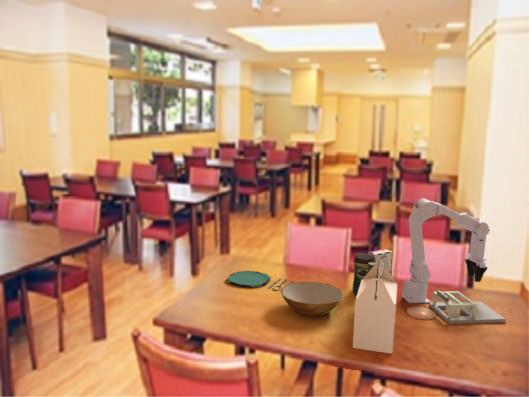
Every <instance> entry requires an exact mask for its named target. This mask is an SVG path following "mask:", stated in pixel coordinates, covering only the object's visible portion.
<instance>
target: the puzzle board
mask: <svg viewBox="0 0 529 397" xmlns="http://www.w3.org/2000/svg"><path fill="white" fill-rule="evenodd" d="M461 302H462V303H463V304H469V303H468V302H467V301H461ZM473 302H474V303H475V304H477V305H476V315H475V317H472V307H461V311H460V314H463V315H462V316H461V315H460V316H452V317H451V318H448V317H447V315H448V314H447V313H446V312H444V311H443V310H446V304H445V303H444V302H442V301H439V302H437V301H436V305H433V301H432V302H431V301H430V303H429V304H428V307H430V309H431V310H432V311H434V312H435V314H436V315H439V316H440V317H441V318H442V319H443V320H444V321H445V322H446V323H448V325H463V324H464V325H466V324H468V325H469V324H470V325H471V324H473V325H474V324H499V323H501V324H502V323H503V324H504V323H506V320H507V319H506V318H505V317H504V316H502V315H501V314H499V313H498V312H497V311H495V310H494V309H492V308H491V307H490V306H488V305H487V304H485V303H484V302H482V301H478V300H477V301H476V300H475V301H473Z"/></svg>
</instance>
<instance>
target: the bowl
mask: <svg viewBox="0 0 529 397" xmlns="http://www.w3.org/2000/svg"><path fill="white" fill-rule="evenodd" d="M280 291H281V292H280V293H281V296H282V298H283V299H284V301H285V303H287V305H288V306H289V307H290V308H291V309H292V310H294V311H295V312H296V313H299V314H301V315H303V316H307V317H319V316H323V315H325V314H327V313H329V312H331V311H333V310H334V309H335V308H336V307H338V305H339V304H340V303H341V301H342V299H343V297H344V292H343V290H341V289H340V288H339V287H336V286H335V285H332V284H329V283H324V282H318V281H299V282H293V283H292V284H289V283H288V284H287V285H286V284H285V286H283V287H281V288H280Z"/></svg>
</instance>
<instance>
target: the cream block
mask: <svg viewBox="0 0 529 397" xmlns="http://www.w3.org/2000/svg"><path fill="white" fill-rule="evenodd" d="M449 303H451V304H457V303H456V302H455V301H453V300H452V299H449ZM460 311H461V307H452V313H451V317H455V316H461V312H460ZM445 314H447V315H448V306H447V305H446V309H445Z"/></svg>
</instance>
